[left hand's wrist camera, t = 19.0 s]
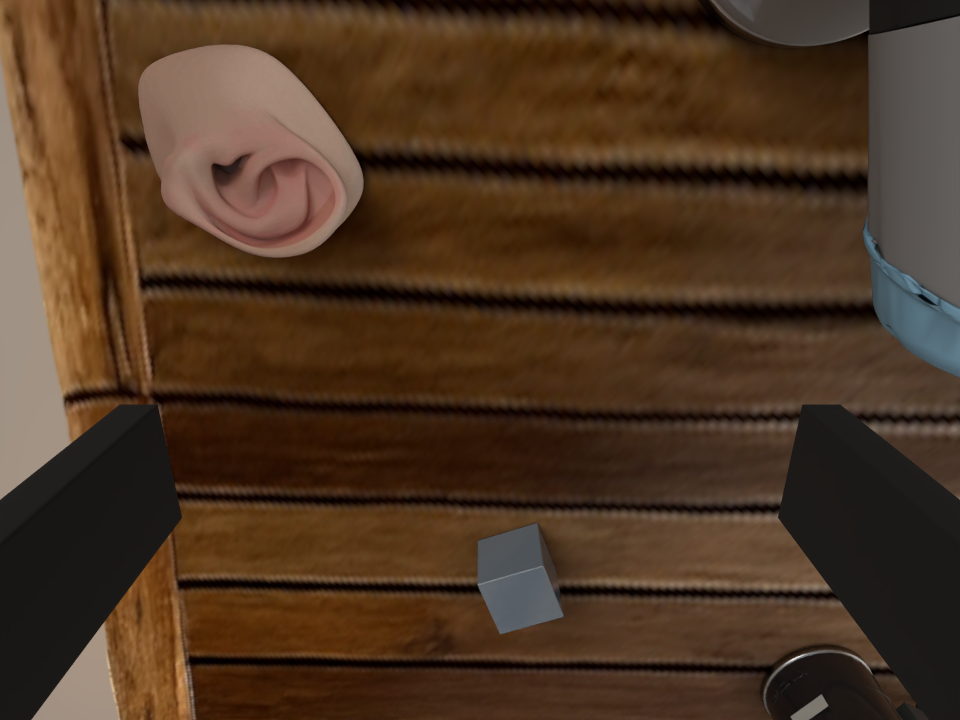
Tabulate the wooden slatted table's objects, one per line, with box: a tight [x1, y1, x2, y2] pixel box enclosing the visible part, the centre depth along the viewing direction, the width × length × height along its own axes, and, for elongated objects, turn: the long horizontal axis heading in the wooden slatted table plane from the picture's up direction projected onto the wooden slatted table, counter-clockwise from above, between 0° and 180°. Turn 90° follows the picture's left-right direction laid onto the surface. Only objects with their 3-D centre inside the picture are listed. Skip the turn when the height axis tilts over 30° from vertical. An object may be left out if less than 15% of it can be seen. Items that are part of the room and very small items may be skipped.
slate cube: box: [478, 523, 564, 634], centre depth 47 cm, size 5×5×5 cm
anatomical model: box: [138, 45, 364, 258], centre depth 36 cm, size 13×4×12 cm
